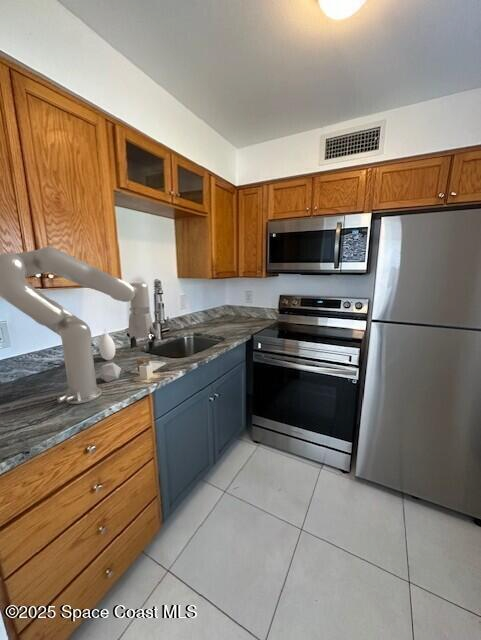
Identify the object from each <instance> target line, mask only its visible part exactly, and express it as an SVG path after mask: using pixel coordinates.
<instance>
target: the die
mask: <svg viewBox="0 0 481 640" xmlns="http://www.w3.org/2000/svg"><path fill="white" fill-rule="evenodd" d="M121 371H122V368H121V367H120V366H118V365H117V364H116V363H115V362H109V363H106V364H103V365H101V368H100V371H99V375H98V378H101V379H102V380H103V381H105V382H106V383H110V382H112V381H114V380H117V379H119V377H120V373H121Z"/></svg>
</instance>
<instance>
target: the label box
mask: <svg viewBox="0 0 481 640" xmlns="http://www.w3.org/2000/svg"><path fill="white" fill-rule="evenodd" d="M139 371H140V374H139V376H140V379H147V380H148V379H149V378H151V377H152V376H153V374H154V373H153V372H154V371H153V370H152V364H147V363H144V364H142V365H140V366H139Z"/></svg>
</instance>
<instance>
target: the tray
mask: <svg viewBox="0 0 481 640" xmlns="http://www.w3.org/2000/svg"><path fill="white" fill-rule="evenodd" d="M149 364H152V370H153V372H154V371H156V370H158V369H160V368H162V366H164V365H166V364H167V362H166V361H159V360H149ZM129 373H130V374H138V375H140V372H138V367H135V368H134V369H132V370H130V371H129Z"/></svg>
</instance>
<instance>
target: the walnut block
mask: <svg viewBox="0 0 481 640" xmlns="http://www.w3.org/2000/svg"><path fill="white" fill-rule="evenodd" d="M149 361H150V358H149V357H143V356H142V357H139V359H136V364H137V365H136V366H137V367H136V368H138V372H140V371H139V366H140V365H142V364H144V363H147V364H149Z"/></svg>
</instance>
